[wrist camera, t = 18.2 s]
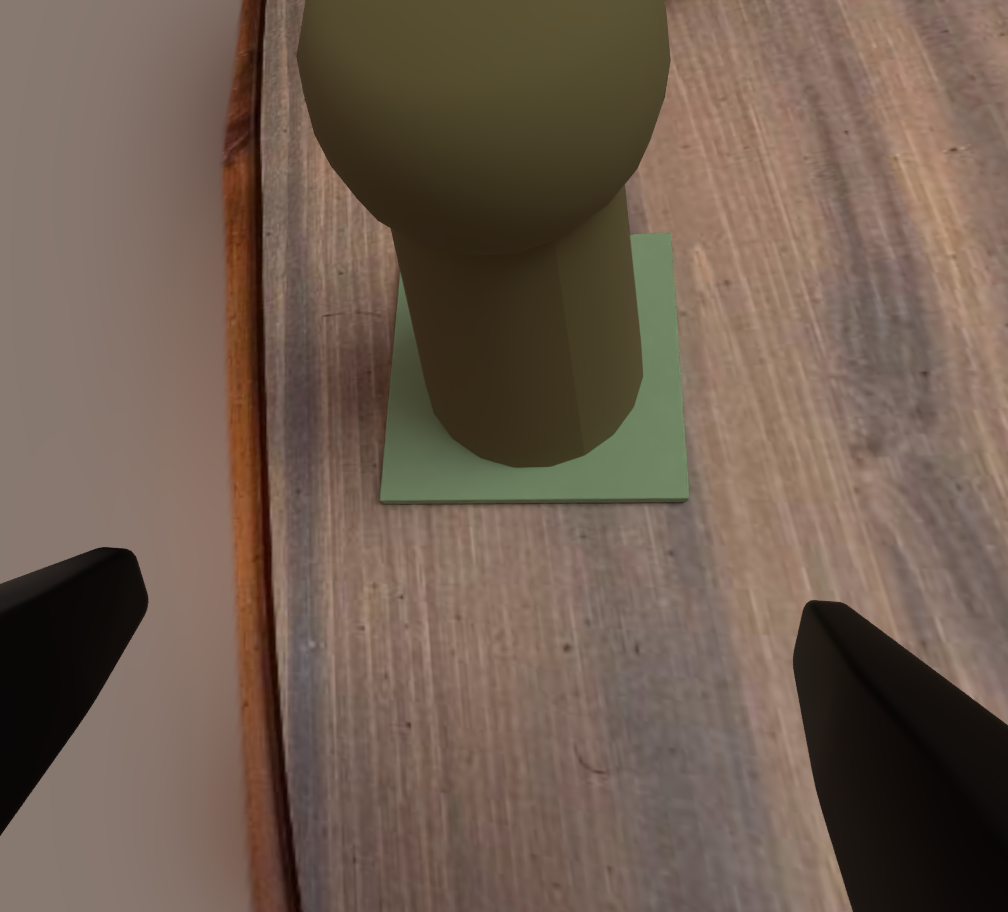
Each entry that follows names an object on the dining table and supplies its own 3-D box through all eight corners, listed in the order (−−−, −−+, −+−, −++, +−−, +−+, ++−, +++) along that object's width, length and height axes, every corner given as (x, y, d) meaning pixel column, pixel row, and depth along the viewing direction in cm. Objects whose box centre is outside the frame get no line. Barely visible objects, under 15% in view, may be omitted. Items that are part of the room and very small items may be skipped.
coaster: (687, 502, 17) (689, 498, 16) (383, 504, 18) (379, 500, 17) (669, 240, 20) (670, 231, 19) (405, 253, 20) (401, 245, 20)
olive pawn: (414, 292, 19) (222, -156, 9) (619, 253, 19) (660, -259, 9) (436, 486, 17) (220, 193, 7) (666, 447, 17) (791, 76, 7)
